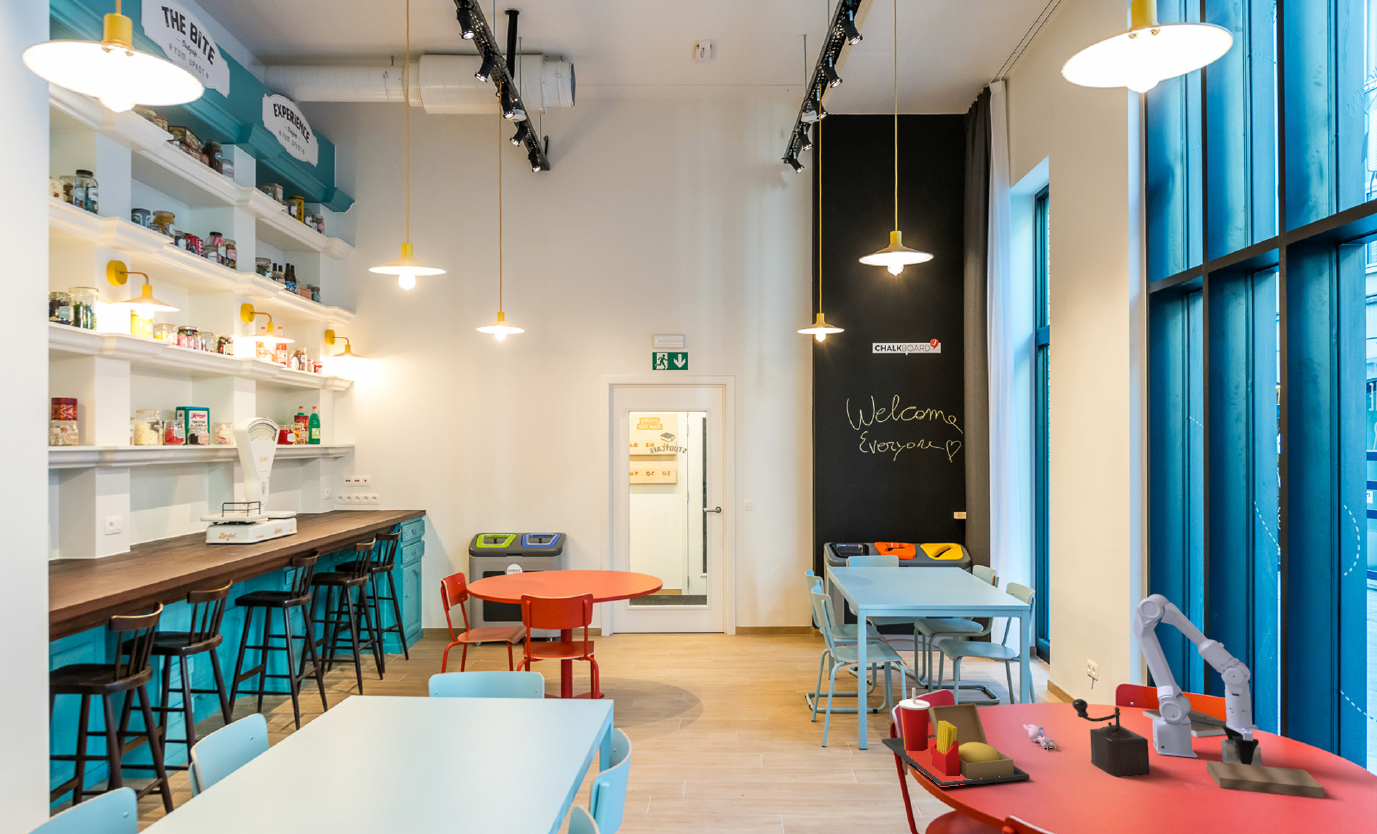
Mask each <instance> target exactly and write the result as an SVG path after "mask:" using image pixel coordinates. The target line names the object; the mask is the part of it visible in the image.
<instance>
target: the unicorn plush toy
mask: <svg viewBox="0 0 1377 834" xmlns="http://www.w3.org/2000/svg"><path fill="white" fill-rule="evenodd" d="M1023 728H1024V730H1025V731H1026V732H1027V733H1028V737H1029V739H1030V740H1032V741H1033V742H1034V743H1036V741H1039V742H1038V743H1039V744H1040V746H1041V748H1042V747H1045V748H1047V749H1049V748H1048V747H1051V748H1052V747H1054V749H1057V750H1058V748H1057V745H1056V743H1055V742H1054V741H1055V739H1053V738H1049V737H1047V735H1046V733H1045V730H1044V727H1043V725H1040V726H1038V725H1036V724H1028V725H1027V724H1023Z"/></svg>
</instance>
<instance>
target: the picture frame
mask: <svg viewBox="0 0 1377 834" xmlns="http://www.w3.org/2000/svg"><path fill="white" fill-rule="evenodd" d="M1187 715H1188V717H1189V719H1190V720H1191V735H1192V736H1194V738H1195V737H1196V738H1199V737H1201V738H1202V737H1210V736H1220V735H1221V736H1222V734H1223V735H1226V733H1225V731H1224V729H1223V727H1222V726H1226V722H1227V720H1224V719H1221V718H1218V717H1215V716H1213V715H1210V714H1207V713H1204V712H1201V711H1198V710H1196V709H1193V708H1191V710H1190V712H1189V713H1188V714H1187ZM1142 716H1143V717H1146V716H1147V718H1148V717H1149V719H1151V720H1153V719H1161V714H1160V711H1159V708H1157V709H1155V708H1154V709H1147V710H1145V709H1143V710H1142Z"/></svg>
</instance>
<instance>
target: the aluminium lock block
mask: <svg viewBox="0 0 1377 834" xmlns="http://www.w3.org/2000/svg"><path fill="white" fill-rule="evenodd" d="M1220 741H1221V742H1220V743H1221V744H1220V745H1221V746H1220V747H1221V759H1222V761H1221V762H1223V763H1234V764H1242V763H1241V761H1240V757H1239V752H1238V748H1237V745H1236V743H1235V741H1234V740H1228V738H1227V739H1224V738H1221V739H1220ZM1245 765H1246V764H1245ZM1251 765H1256V766H1263V761H1262V748H1261V746H1260V745H1259V744H1258V745H1257V747H1256V748H1255V751H1254V754H1253V759H1252V763H1251Z"/></svg>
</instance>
